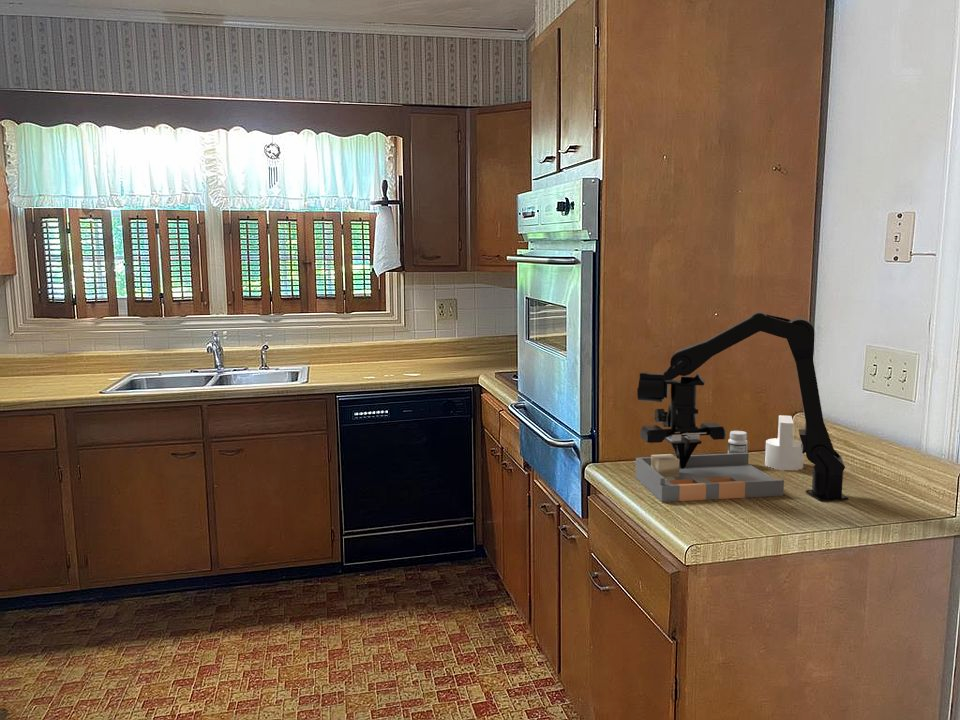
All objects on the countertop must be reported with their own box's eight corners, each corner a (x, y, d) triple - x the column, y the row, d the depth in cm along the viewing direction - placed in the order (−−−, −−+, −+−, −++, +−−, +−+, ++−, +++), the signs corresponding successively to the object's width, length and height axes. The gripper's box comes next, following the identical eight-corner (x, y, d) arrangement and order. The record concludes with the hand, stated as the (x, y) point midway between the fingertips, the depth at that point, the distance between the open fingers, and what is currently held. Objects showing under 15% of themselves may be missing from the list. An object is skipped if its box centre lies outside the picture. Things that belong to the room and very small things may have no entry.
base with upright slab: (804, 472, 184) (807, 424, 183) (765, 469, 187) (767, 422, 186) (801, 462, 193) (804, 416, 191) (764, 459, 196) (766, 414, 194)
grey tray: (783, 495, 167) (784, 473, 166) (661, 501, 164) (662, 479, 163) (745, 472, 185) (746, 452, 184) (635, 477, 182) (635, 457, 181)
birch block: (679, 476, 174) (679, 459, 173) (658, 477, 173) (658, 460, 173) (671, 470, 179) (671, 453, 178) (650, 471, 178) (651, 454, 178)
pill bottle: (731, 460, 195) (732, 429, 194) (749, 463, 192) (750, 431, 191) (724, 464, 192) (725, 432, 190) (742, 468, 189) (744, 435, 187)
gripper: (707, 394, 183) (706, 457, 185) (633, 398, 181) (632, 460, 183) (727, 403, 172) (725, 469, 174) (648, 407, 170) (647, 474, 172)
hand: (682, 468), depth 176 cm, fingers closed
